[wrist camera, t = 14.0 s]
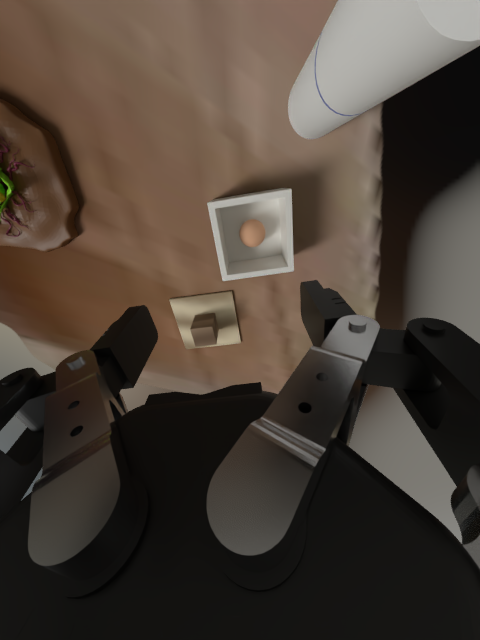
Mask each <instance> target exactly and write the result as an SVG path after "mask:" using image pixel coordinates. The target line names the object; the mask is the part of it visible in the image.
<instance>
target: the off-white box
mask: <svg viewBox="0 0 480 640" xmlns="http://www.w3.org/2000/svg"><path fill="white" fill-rule="evenodd" d="M207 204H208V209H209V214H210V219H211V224H212V229H213V234H214V240H215V245H216V250H217V255H218V260H219V265H220V270H221V275H222V280H223V281H227V280H234V279H241V278H249V277H256V276H263V275H270V274H278V273H285V272H292V271H294V261H293V225H292V189H289V188H278V189H273V190H267V191H261V192H255V193H249V194H243V195H237V196H231V197H225V198H219V199H213V200H211V201H210V202H208V203H207ZM250 219H255V220H258V221H260V222H261V223H262V224H263V226H264V228H265V238H264V240H263V242H262V243H261V244H260V245H258V246H256V247H248V246H246V245H245V244H243V242H242V241H241V239H240V236H239V231H240V228H241V226H242V224H243V223H244V222H245V221H247V220H250Z"/></svg>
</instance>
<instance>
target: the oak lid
mask: <svg viewBox="0 0 480 640" xmlns="http://www.w3.org/2000/svg"><path fill="white" fill-rule="evenodd" d="M169 300H170V303H171V306H172V309H173V312H174V315H175V318H176V321H177V324H178V327H179V330H180V333H181V336H182V339H183V342H184V345H185V348H186V349H193V348H201V347H210V346H219V345H228V344H237V343H241V340H240V334H239V328H238V323H237V317H236V311H235V306H234V300H233V294H232V291H224V292H216V293H209V294H201V295H194V296H186V297H178V298H171V299H169Z"/></svg>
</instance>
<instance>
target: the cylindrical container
mask: <svg viewBox="0 0 480 640" xmlns="http://www.w3.org/2000/svg"><path fill="white" fill-rule="evenodd" d="M478 46H480V0H338V2H337V3H336V5H335V7H334V9H333V11H332V13H331V15H330V17H329V19H328V21H327V22H326V24H325V26H324V28H323V30H322V32H321V34H320V36H319V38H318V40H317V42H316V43H315V45H314V47H313V49H312V51H311V53H310V55H309V57H308V59H307V60H306V62H305V64H304V66H303V68H302V70H301V72H300V74H299V76H298V77H297V79H296V81H295V83H294V85H293V87H292V90H291V92H290V96H289V102H288V114H289V120H290V122H291V125H292V127H293V129H294V130H295V131H296V132H297V133H298V134H299V135H300V136H302V137H303V138H306V139H317V138H320V137H322V136H324V135H326V134H328V133H329V132H331V131H333V130H334V129H336V128H338V127H340V126H341V125H343V124H345V123H347V122H348V121H350V120H352V119H354V118H355V117H357V116H359V115H360V114H362V113H364V112H366V111H367V110H369V109H371V108H373V107H374V106H376V105H378V104H379V103H381V102H383V101H385V100H386V99H388V98H389V97H392V96H393V95H395V94H397V93H398V92H400V91H402V90H403V89H405V88H407V87H409V86H410V85H412V84H414V83H415V82H417V81H419V80H421V79H423V78H424V77H426V76H427V75H429V74H431V73H433V72H435V71H436V70H438V69H440V68H441V67H443V66H445V65H447V64H449V63H450V62H452V61H454V60H455V59H457V58H459V57H461V56H462V55H464V54H466V53H468V52H469V51H471V50H473V49H475V48H476V47H478Z"/></svg>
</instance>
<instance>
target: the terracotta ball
mask: <svg viewBox="0 0 480 640" xmlns="http://www.w3.org/2000/svg"><path fill="white" fill-rule="evenodd" d="M239 236H240V239H241V241H242V242H243V244H245V245H246V246H248V247H256V246H258V245H260V244H261V243H262V242H263V240H264V238H265V228H264V226H263V224H262V223H261V222H260V221H258V220H255V219H250V220H247V221H245V222H244V223H243V224H242V226H241V228H240V231H239Z"/></svg>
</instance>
